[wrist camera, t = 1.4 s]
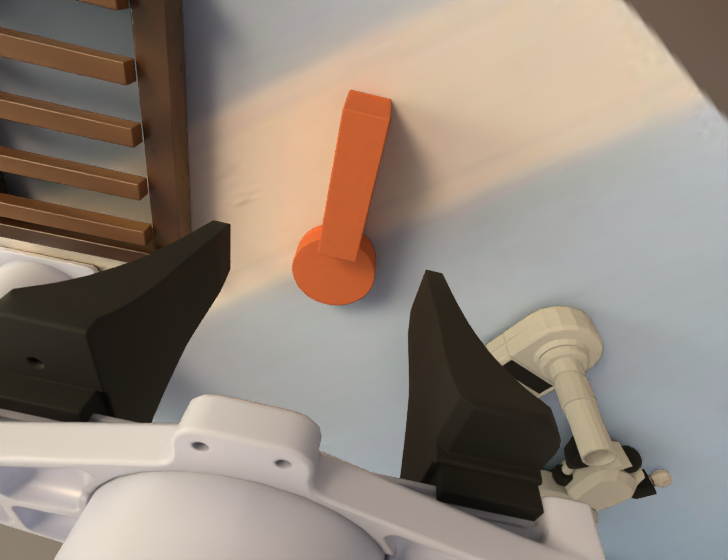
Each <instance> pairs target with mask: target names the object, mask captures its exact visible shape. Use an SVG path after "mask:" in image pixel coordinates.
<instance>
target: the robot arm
mask: <svg viewBox="0 0 728 560" xmlns="http://www.w3.org/2000/svg"><path fill="white" fill-rule="evenodd" d="M229 271H230V224H227V223H223V222H219V221H214V220H213V221H211V222H210V223H208V224H206V225H204V226H202V227H201V228H199V229H197V230H195V231H193V232H192V233H190V234H188V235H186V236H184V237H183V238H181V239H179V240H177V241H175V242H173V243H171V244H169V245H167V246H165V247H163V248H161V249H159V250H157V251H155V252H153V253H151V254H149V255H146V256H144V257H142V258H139V259H137V260H134V261H132V262H129V263H126V264H123V265H121V266H118V267H115V268H111V269H108V270H105V271H101V272H99V271H98V269H97V268H96V267H95V266H93V265H90V264H85V263H80V262H75V261H70V260H65V259H60V258H55V257H50V256H45V255H40V254H35V253H30V252H25V251H20V250H15V249H10V248H4V247H0V523H1V524H4V525H7V526H10V527H14V528H17V529H20V530H24V531H27V532H30V533H33V534H36V535H40V536H43V537H46V538H49V539H53V540H56V541H59V542H62V543H64V544H63V545H62V547H61V549H60V551H59V552H58V554H57V555H56V557H55V559H54V560H606V558H605V554H604V551H603V547H602V544H601V541H600V537H599V534H598V531H597V527H596V524H595V521H594V517H593V514H592V511H591V507H590V505H589V504H588V503H585V502H581V501H576V500H571V499H567V498H562V497H557V496H544V497H542V498H541V496H540V491H539V486H540V485H541V484H542V481H543V480H542V476H541V471H540V470H541V469H542V467H543V466H544V465H545V464H546V463H547V462H548V461H549V460H550V459H551V458H552V457H553V456H554V455H555V454H556V452H557V451H558V449H559V448H560V443H561V439H560V435H559V432H558V428H557V424H556V421H555V418H554V415H553V413H552V410H551V408H550V407H549V406H548V405H546V404H545V403H544V402H542V401H541V400H540V399H539V398H537V397H536V396H535V395H533V394H532V393H531V392H530V391H528V390H527V389H526V388H525V387H524V386H523V385H522V384H520V383H519V382H518V381H517V380H516V379H515V378H514V377H513V376H512V375H511V374H510V373H509V372H508V371H507V370H506V369H505V368H504V367H503V366H502V365H501V364H500V363H499V362H498V361H497V360H496V359H495V358H494V356H493V355H492V354H491V353H490V352H489V351H488V349H487V348H486V347H485V345H484V344H483V343H482V342H481V340H480V339H479V338H478V336H477V335H476V334H475V332H474V331H473V329H472V328H471V326H470V325H469V323H468V321H467V320H466V318H465V316H464V315H463V313H462V311H461V309H460V307H459V306H458V304H457V302H456V300H455V298H454V296H453V294H452V292H451V290H450V288H449V286H448V284H447V282H446V280H445V278H444V276H443V274H442V273H438V272H434V271H430V270H426V271H425V274H424V276H423V279H422V282H421V284H420V287H419V290H418V292H417V295H416V298H415V300H414V303H413V306H412V308H411V313H410V321H409V331H408V354H409V400H408V411H407V422H406V432H405V442H404V450H403V459H402V467H401V475H400V478H396V477H391V476H386V475H382V474H377V473H372V472H369V471H367V470H365V469H362V468H360V467H358V466H355V465H353V464H351V463H348V462H346V461H344V460H341V459H339V458H337V457H334V456H332V455H330V454H327V453H325V452H322V451H320V450H319V446H320V442H321V432H320V427H319V426H318V425H317V424H316V423H315V422H314V421H313V420H312V419H310V418H309V417H308V416H306V415H303V414H301V413H298V412H296V411H292V410H288V409H283V408H279V407H274V406H269V405H265V404H260V403H256V402H251V401H246V400H242V399H237V398H233V397H228V396H223V395H212V394H205V395H202V396H199V397H197V398H194V399H192V400H191V402H190V404H189V406H188V408H187V410H186V411H185V413H184V415H183V417H182V419H181V421H180V423H151V422H152V420H153V417H154V415H155V413H156V410H157V408H158V406H159V403H160V401H161V399H162V396H163V394H164V392H165V389H166V387H167V385H168V383H169V381H170V378H171V376H172V374H173V372H174V370H175V368H176V366H177V363H178V361H179V359H180V357H181V355H182V353H183V351H184V349H185V347H186V345H187V344H188V342H189V340H190V338H191V337H192V335H193V333H194V332H195V330H196V329H197V327H198V326H199V324H200V323H201V321H202V319H203V318H204V316H205V315H206V313H207V312H208V310H209V309H210V307H211V305H212V304H213V302H214V301H215V299H216V297H217V296H218V294H219V293H220V291H221V289H222V287H223V284H224V282H225V280H226V278H227V276H228V273H229Z"/></svg>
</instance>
